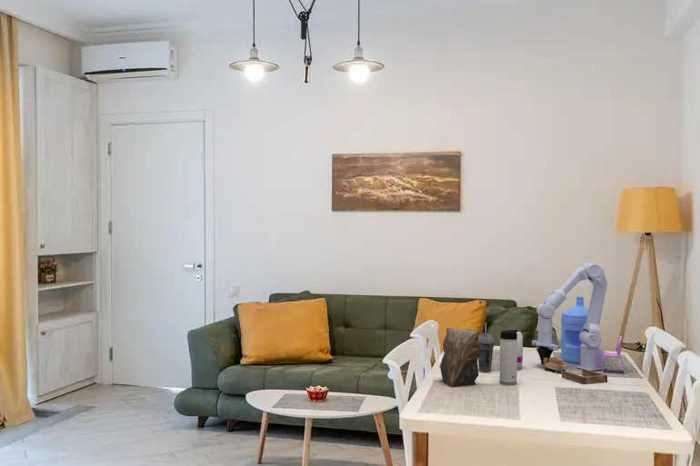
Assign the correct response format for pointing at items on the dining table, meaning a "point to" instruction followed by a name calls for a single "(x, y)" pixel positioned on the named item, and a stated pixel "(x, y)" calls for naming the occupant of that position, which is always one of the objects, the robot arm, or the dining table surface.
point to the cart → (554, 364)
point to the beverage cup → (485, 351)
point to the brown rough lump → (460, 357)
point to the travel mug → (508, 357)
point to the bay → (588, 379)
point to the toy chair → (614, 355)
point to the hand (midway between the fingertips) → (544, 365)
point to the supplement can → (519, 350)
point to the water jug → (572, 331)
